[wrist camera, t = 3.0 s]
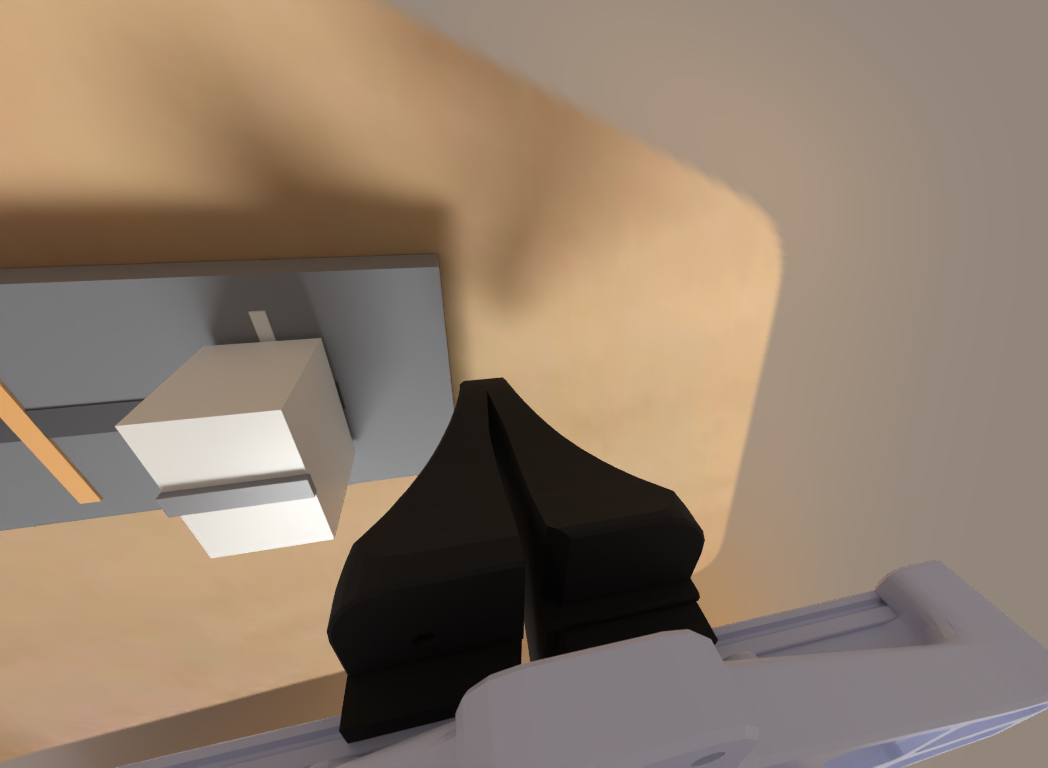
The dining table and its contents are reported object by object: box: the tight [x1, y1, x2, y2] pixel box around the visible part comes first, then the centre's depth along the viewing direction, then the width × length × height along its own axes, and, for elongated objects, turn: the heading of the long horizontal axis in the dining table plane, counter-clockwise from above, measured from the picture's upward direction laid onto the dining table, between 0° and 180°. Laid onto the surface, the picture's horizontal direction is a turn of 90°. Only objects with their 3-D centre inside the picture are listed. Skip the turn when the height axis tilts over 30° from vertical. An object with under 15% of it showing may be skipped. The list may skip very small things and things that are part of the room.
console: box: [0, 254, 454, 531], centre depth 12 cm, size 19×8×2 cm, turn 89°
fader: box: [115, 338, 356, 558], centre depth 10 cm, size 3×4×4 cm
